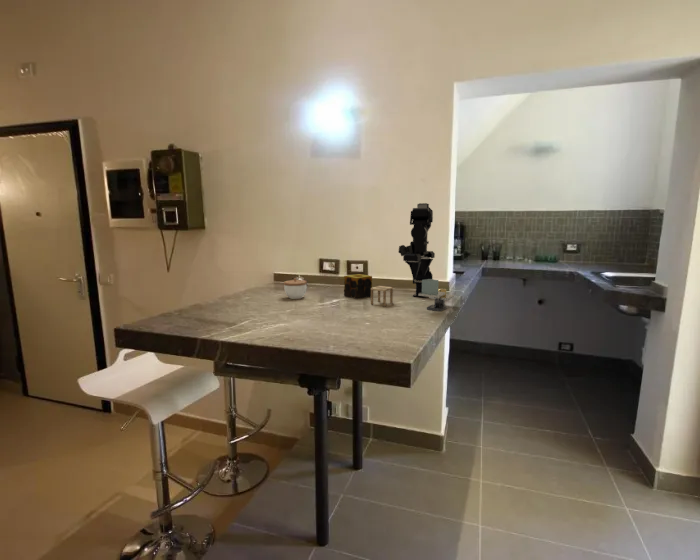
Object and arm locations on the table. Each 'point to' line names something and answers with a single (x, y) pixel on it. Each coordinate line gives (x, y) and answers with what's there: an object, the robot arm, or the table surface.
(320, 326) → the table surface
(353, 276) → the candle
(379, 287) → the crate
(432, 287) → the block
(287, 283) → the lidded jar
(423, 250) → the robot arm
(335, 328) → the table surface
